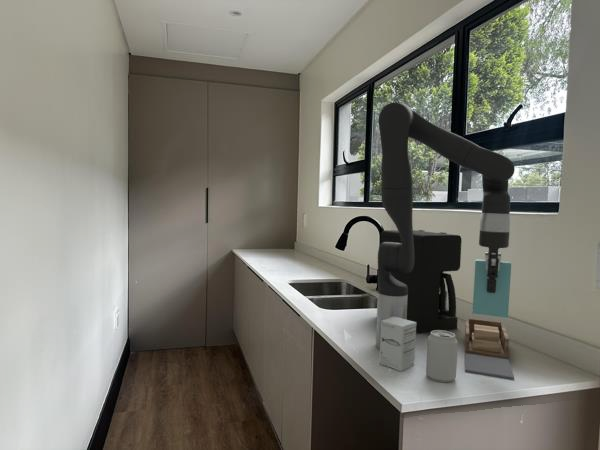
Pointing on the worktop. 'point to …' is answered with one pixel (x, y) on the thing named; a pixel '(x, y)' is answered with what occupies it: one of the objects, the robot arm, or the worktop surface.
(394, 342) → the supplement box
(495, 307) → the teal board
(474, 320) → the walnut rack
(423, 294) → the coffee maker
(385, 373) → the worktop surface
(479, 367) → the charcoal mat
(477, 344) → the lower offcut
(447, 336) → the can
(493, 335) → the upper offcut
